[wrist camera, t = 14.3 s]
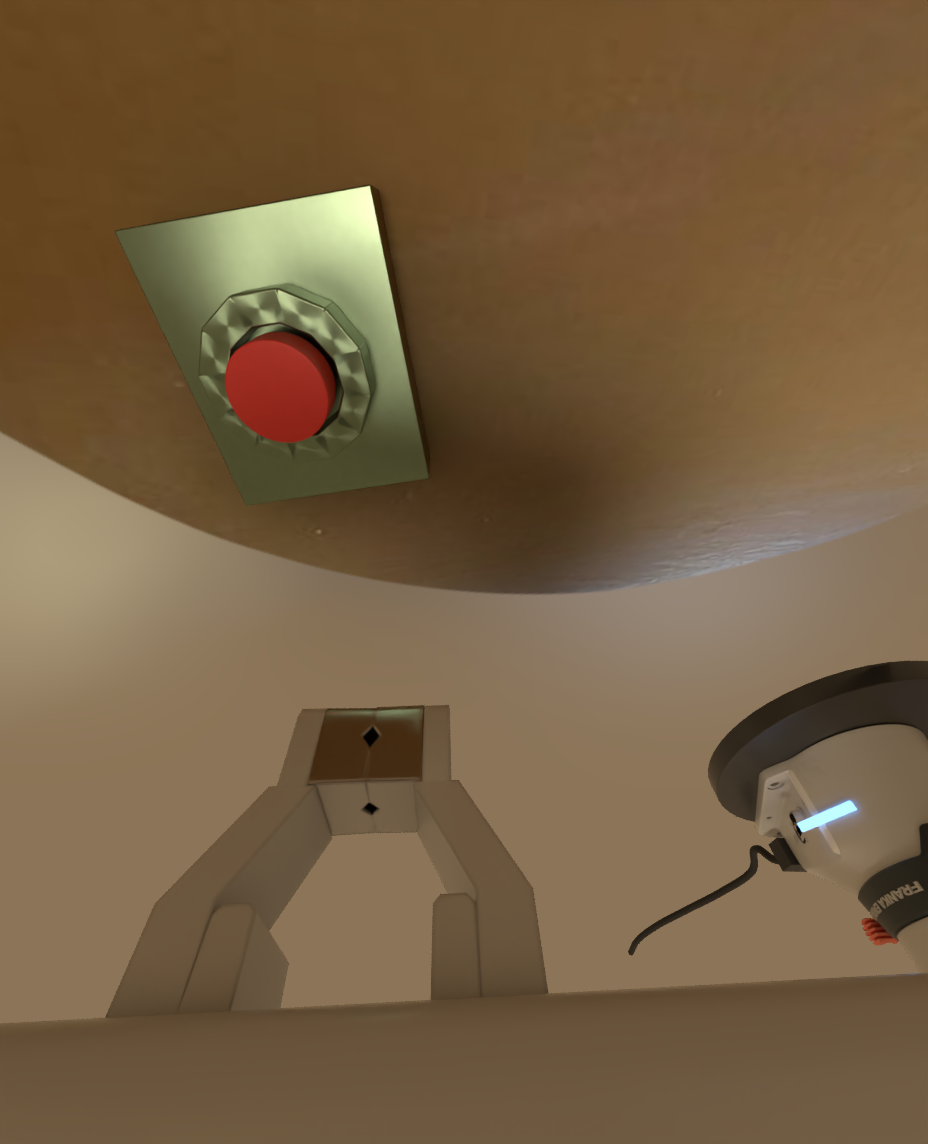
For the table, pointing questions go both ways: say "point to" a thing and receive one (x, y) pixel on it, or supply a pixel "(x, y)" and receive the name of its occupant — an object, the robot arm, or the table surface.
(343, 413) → the button box
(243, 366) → the red push button
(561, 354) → the table surface
